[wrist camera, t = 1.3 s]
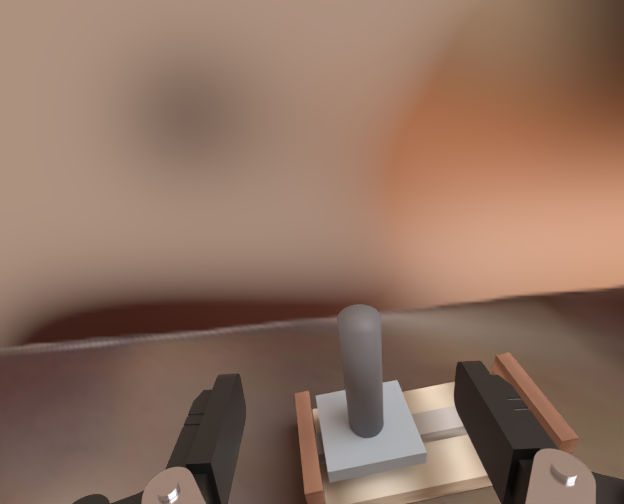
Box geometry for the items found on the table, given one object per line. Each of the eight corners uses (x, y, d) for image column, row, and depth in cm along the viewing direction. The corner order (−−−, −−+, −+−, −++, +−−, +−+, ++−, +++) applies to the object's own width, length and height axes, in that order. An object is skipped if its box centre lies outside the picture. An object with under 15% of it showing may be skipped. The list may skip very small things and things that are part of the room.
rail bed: (501, 384, 38) (509, 352, 35) (563, 470, 30) (578, 437, 27) (301, 423, 37) (294, 393, 34) (312, 523, 29) (304, 494, 26)
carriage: (397, 400, 35) (397, 279, 27) (425, 472, 29) (436, 345, 21) (319, 415, 35) (297, 297, 27) (331, 491, 29) (308, 369, 21)
